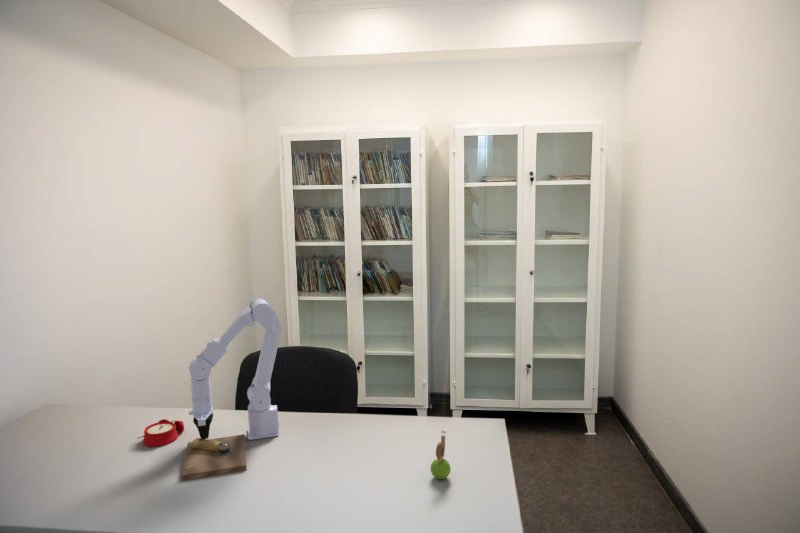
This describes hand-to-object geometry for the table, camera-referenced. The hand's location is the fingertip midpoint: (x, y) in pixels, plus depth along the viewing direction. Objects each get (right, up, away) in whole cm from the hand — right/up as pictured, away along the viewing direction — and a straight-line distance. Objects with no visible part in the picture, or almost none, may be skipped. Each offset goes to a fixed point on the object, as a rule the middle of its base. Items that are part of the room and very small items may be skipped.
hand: (204, 438), depth 166 cm
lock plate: (+6, -3, -8) cm, 11 cm away
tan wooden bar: (+5, -1, -7) cm, 8 cm away
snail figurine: (+72, -4, -20) cm, 75 cm away
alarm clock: (-15, -2, +6) cm, 16 cm away
